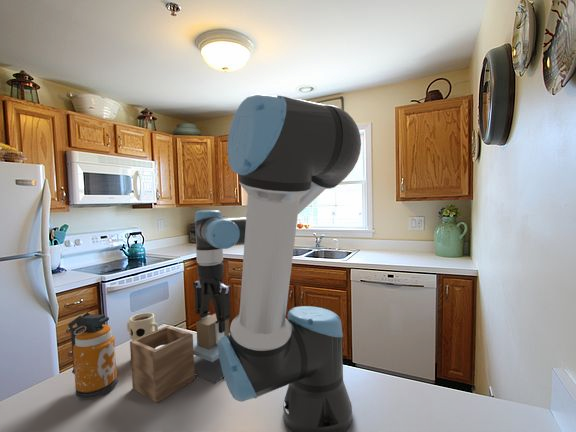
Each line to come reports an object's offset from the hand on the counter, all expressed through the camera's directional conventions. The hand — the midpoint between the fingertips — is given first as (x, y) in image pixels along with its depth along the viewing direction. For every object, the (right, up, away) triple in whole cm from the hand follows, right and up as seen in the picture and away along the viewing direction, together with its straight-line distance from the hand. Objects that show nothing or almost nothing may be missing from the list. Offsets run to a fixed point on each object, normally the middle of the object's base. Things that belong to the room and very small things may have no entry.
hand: (213, 340), depth 87 cm
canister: (-28, -9, -11) cm, 32 cm away
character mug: (-23, -8, +5) cm, 25 cm away
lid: (0, -3, 0) cm, 3 cm away
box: (-11, -8, -9) cm, 16 cm away
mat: (0, -7, 0) cm, 7 cm away
